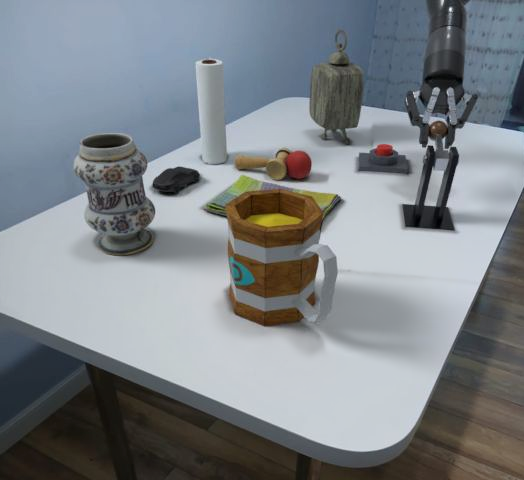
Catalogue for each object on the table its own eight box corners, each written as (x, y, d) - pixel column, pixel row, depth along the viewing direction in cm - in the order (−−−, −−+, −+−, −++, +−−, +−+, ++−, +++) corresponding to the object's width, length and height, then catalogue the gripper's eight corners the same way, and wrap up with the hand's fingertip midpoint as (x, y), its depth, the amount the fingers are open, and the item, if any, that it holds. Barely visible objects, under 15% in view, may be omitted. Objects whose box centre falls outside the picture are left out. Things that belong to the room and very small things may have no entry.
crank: (425, 134, 97) (429, 116, 94) (444, 135, 97) (449, 117, 94) (428, 173, 89) (433, 154, 87) (448, 174, 89) (454, 156, 86)
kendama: (231, 181, 114) (305, 182, 108) (229, 152, 111) (305, 151, 105) (245, 175, 121) (316, 175, 114) (243, 147, 118) (315, 146, 111)
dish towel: (243, 182, 111) (242, 170, 109) (346, 204, 102) (347, 191, 101) (201, 213, 99) (200, 200, 97) (313, 240, 91) (314, 227, 89)
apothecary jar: (157, 223, 96) (143, 126, 84) (161, 254, 87) (145, 150, 75) (93, 229, 94) (69, 130, 82) (90, 262, 85) (63, 156, 73)
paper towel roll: (217, 166, 118) (212, 65, 104) (197, 161, 120) (189, 62, 106) (234, 157, 123) (231, 59, 108) (214, 152, 125) (209, 56, 111)
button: (391, 152, 116) (392, 144, 114) (391, 157, 113) (393, 149, 112) (375, 151, 116) (376, 143, 115) (376, 156, 113) (377, 148, 112)
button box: (403, 164, 120) (407, 147, 117) (406, 178, 113) (409, 161, 110) (358, 161, 121) (360, 144, 118) (357, 175, 114) (359, 158, 111)
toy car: (203, 179, 112) (202, 162, 110) (169, 198, 104) (167, 180, 102) (183, 174, 114) (181, 157, 112) (148, 192, 107) (146, 175, 104)
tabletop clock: (356, 146, 129) (370, 34, 112) (323, 149, 127) (332, 35, 111) (336, 129, 139) (346, 24, 123) (306, 132, 138) (312, 25, 121)
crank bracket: (401, 209, 101) (415, 139, 92) (446, 212, 100) (465, 142, 91) (404, 232, 93) (419, 158, 84) (453, 236, 92) (474, 161, 83)
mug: (211, 293, 78) (204, 203, 68) (280, 267, 84) (283, 180, 74) (287, 362, 66) (292, 264, 56) (361, 326, 72) (377, 232, 62)
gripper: (410, 46, 93) (401, 134, 91) (488, 49, 91) (481, 138, 90) (403, 71, 100) (395, 153, 99) (475, 74, 99) (468, 157, 97)
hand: (436, 145), depth 94 cm, fingers closed on crank, 3 cm apart
